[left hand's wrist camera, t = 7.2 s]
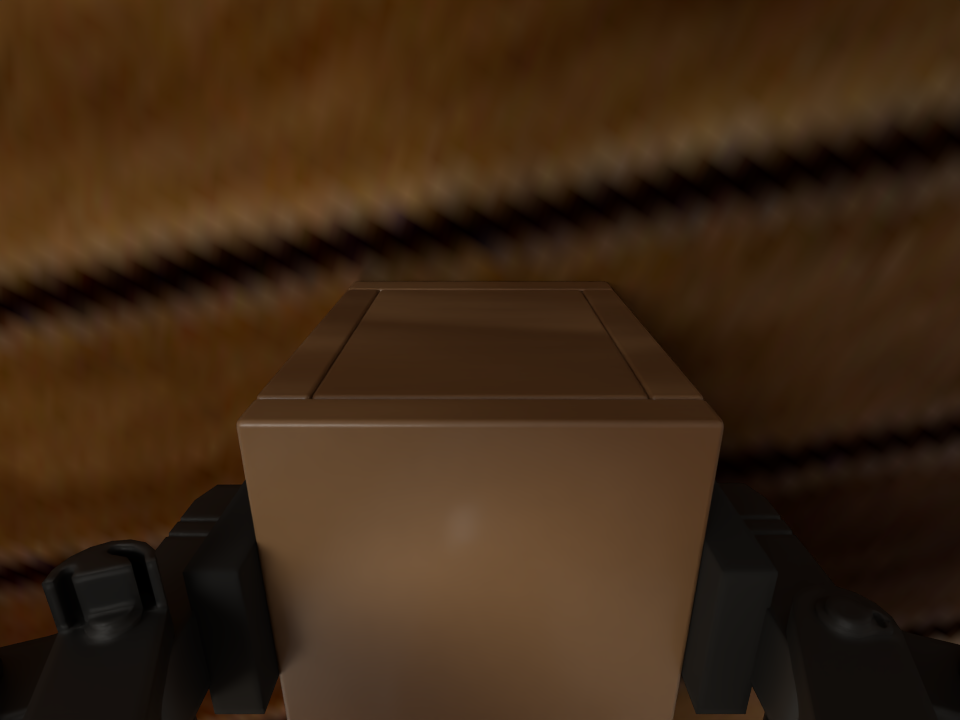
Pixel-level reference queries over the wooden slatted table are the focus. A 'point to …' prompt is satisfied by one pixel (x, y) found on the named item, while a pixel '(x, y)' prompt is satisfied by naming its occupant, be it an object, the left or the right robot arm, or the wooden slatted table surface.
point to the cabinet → (480, 506)
